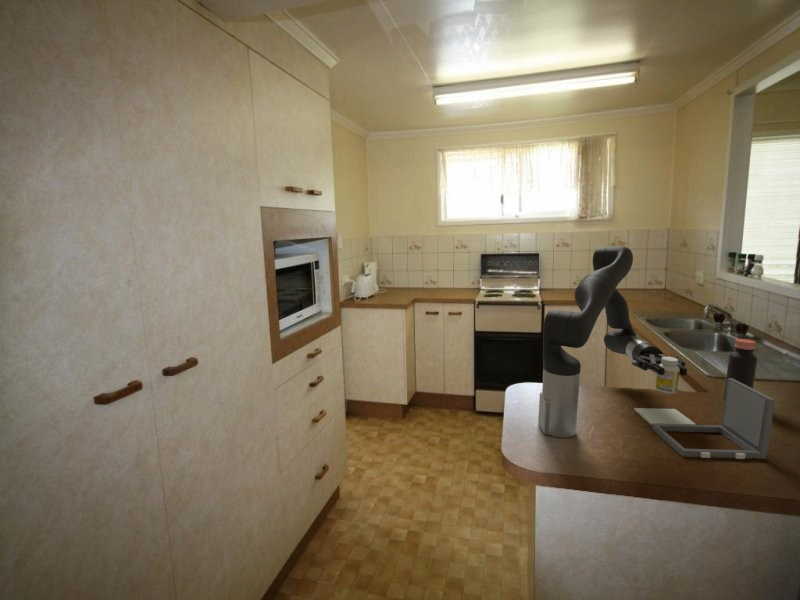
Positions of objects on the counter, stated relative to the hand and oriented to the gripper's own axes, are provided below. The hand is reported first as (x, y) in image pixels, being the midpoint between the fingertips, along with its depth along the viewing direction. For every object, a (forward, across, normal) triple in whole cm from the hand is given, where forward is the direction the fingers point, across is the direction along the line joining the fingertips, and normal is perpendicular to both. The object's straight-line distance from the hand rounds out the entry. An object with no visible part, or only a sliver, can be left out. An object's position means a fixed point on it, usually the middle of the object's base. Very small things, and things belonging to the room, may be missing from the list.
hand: (673, 372), depth 118 cm
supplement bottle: (-3, 0, +7) cm, 7 cm away
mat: (-2, 0, +15) cm, 15 cm away
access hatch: (+12, +2, +14) cm, 19 cm away
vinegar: (-15, +29, +15) cm, 36 cm away
